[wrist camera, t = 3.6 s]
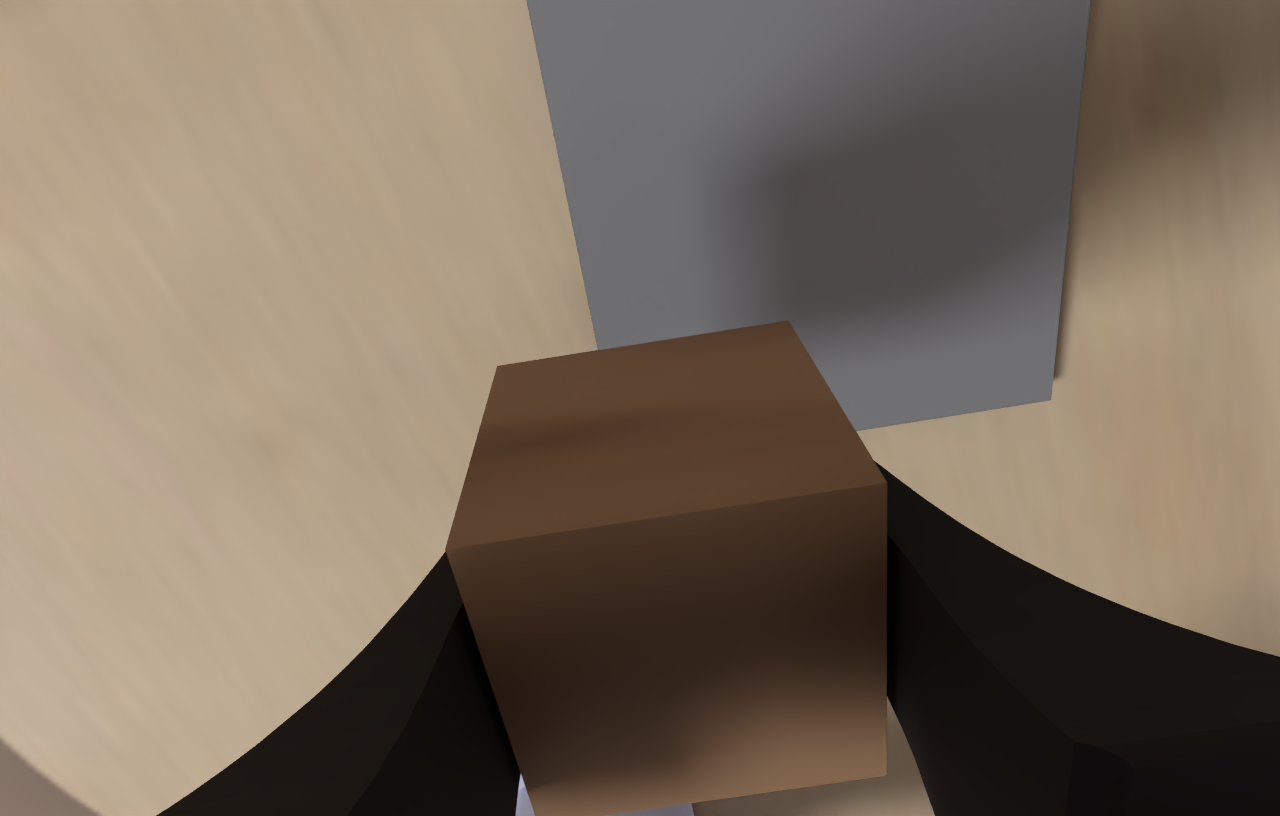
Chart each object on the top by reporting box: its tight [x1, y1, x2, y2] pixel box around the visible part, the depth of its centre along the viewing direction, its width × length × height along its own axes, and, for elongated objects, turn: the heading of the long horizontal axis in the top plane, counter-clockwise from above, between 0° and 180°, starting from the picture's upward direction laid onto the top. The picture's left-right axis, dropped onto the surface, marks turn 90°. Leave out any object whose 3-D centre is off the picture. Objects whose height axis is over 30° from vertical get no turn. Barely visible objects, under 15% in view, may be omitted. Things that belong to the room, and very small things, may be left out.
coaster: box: [527, 0, 1091, 431], centre depth 19 cm, size 12×12×1 cm
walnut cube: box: [445, 320, 887, 816], centre depth 12 cm, size 5×5×5 cm
